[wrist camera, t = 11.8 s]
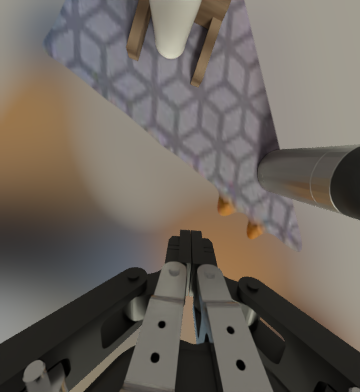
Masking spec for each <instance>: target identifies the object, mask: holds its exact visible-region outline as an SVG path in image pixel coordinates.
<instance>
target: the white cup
mask: <svg viewBox="0 0 360 392" xmlns="http://www.w3.org/2000/svg"><path fill="white" fill-rule="evenodd" d="M201 2H202V0H149V4H150V10H151V16H152V22H153V28H154V34H155V44H156V48H157V50H158V51H159V53H160V54H161V55H162V56H163V57H165V58H168V59H175V58H177V57H179V56H180V55H181V54H182V53H183V51H184V49H185V45H186V41H187V39H188V36H189V33H190V31H191V28H192V26H193V23H194V20H195V18H196V15H197V13H198V10H199V7H200V5H201Z"/></svg>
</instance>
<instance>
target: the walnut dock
mask: <svg viewBox="0 0 360 392" xmlns="http://www.w3.org/2000/svg"><path fill="white" fill-rule="evenodd" d="M230 2H231V0H202V2H201V5H200V7H199V10H198V13H197V15H196V18H195V20H194V22H195V23H197V24H199V25H201V26H203V27H205V28H207V29H208V32H207V35H206V38H205V41H204V44H203V47H202V50H201V53H200V56H199V59H198V62H197V65H196V68H195V71H194V74H193V77H192V81H191V85H194V86H196V87H199V85H200V83H201V82H202V79H203V76H204V73H205V70H206V67H207V64H208V61H209V58H210V56H211V53H212V50H213V47H214V44H215V41H216V38H217V35H218V32H219V29H220V26H221V23H222V20H223V18H224V16H225V14H226V12H227V10H228V8H229V5H230ZM150 17H151V10H150V4H149V0H139V1H138V5H137V9H136V12H135V16H134V20H133V24H132V27H131V31H130V35H129V39H128V42H127V46H126V48H127V52H128V55H129V57H130V58H132V59H134V60H137V61H138V59H139V56H140V52H141V49H142V45H143V42H144V38H145V34H146V31H147V27H148V24H149V20H150Z"/></svg>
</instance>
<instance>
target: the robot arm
mask: <svg viewBox="0 0 360 392" xmlns="http://www.w3.org/2000/svg"><path fill="white" fill-rule="evenodd" d="M257 174H258V181H259V183H260V185H261V186H262V187H263V188H264V189H265V190H267V191H269V192H272V193H275V194H278V195H281V196H284V197H287V198H291V199H294V200H297V201H300V202H304V203H307V204H310V205H313V206H317V207H320V208H323V209H326V210H330V211H333V212H336V213H340V214H343V215H346V216H349V217H352V218H355V219H358V220H360V145H346V146H330V147H316V148H299V149H282V150H275V151H272V152H270V153H268V154H267V155H266V156H265V157H264V158H263V159H262V161H261V162H260V164H259V167H258V172H257ZM188 291H189V296H193V318H194V327H195V335H196V344H191V343H188V342H186V341H183V340H180V334H181V325H182V316H183V307H184V305H185V297H186V296H188ZM260 317H261V318H262V319H263V320H265V321H266V322H267V323H268V324H269V325H270V326H271V327H273V328H274V329H275V330H276V331H277V332H278V333H279V334H281V336H282V337H283V338H284V340H285V342H284V341H283V340H282V339H281V338H280V337H279V336H277V335H276V334H275V333H274V332H273V331H272V330H271V329H270V328H269V327H267V326H266V325H265V324H264V323H263V322H262V321H261V320H260ZM141 325H142V327H141V330H140V333H139V337H138V339H137V343H136V345H135V346H133V347H131V348H129V349H128V350H126V351H125V352H123V353H122V354H121V355H120V356H118V357H117V358H116V359H115V360H114V361H113V362H112V363H111V364H110V365H109V366H108V367H107V368H106V369H105V370H104V372H102V373H101V374H100V376H99V377H97V378H96V380H95V381H94V382H93V383H92V384H91V385H90V386H89V387H88V388H87V389H86V390H85V391H84V392H360V352H359V351H357V350H356V349H354V348H353V347H351V346H350V345H349V344H347V343H346V342H345V341H343V340H342V339H340V338H339V337H338V336H336V335H335V334H333V333H332V332H330V331H329V330H328V329H326V328H325V327H323V326H322V325H321V324H319V323H318V322H317V321H315V320H314V319H312V318H311V317H310V316H308V315H307V314H305V313H304V312H302V311H301V310H300V309H298V308H297V307H296V306H294V305H293V304H291V303H290V302H288V301H287V300H286V299H284V298H283V297H281V296H280V295H279V294H277V293H276V292H274V291H273V290H272V289H270V288H269V287H267V286H266V285H265V284H263V283H262V282H260V281H259V280H257V279H255V278H252V277H242V278H241V279H240V280H239V282H237V281H234V280H231V279H228V278H226V277H225V276H223V274H222V271H221V270H220V269H219V268H218V267H217V263H216V258H215V254H214V249H213V245H212V242H211V241H210V240H209V239H206V238H202V233H201V231H193V230H191V234H190V230H180V236H172V237H171V238H170V239H169V242H168V248H167V254H166V260H165V264H164V266H163V267H162V269H161V270H160V271H158V272H155V273H151V274H147V273H146V271H145V270H143V269H142V268H138V267H134V268H129V269H126V270H125V271H123V272H121V273H120V274H118V275H116V276H115V277H113V278H111V279H110V280H108V281H106V282H104V283H103V284H101V285H99V286H97V287H96V288H94V289H93V290H91V291H89V292H87V293H86V294H84V295H82V296H81V297H79V298H77V299H75V300H74V301H72V302H70V303H69V304H67V305H65V306H64V307H62V308H60V309H59V310H57V311H55V312H53V313H52V314H50V315H48V316H47V317H45V318H43V319H42V320H40V321H38V322H36V323H35V324H33V325H31V326H30V327H28V328H27V329H25V330H23V331H21V332H20V333H18V334H16V335H14V336H13V337H11V338H9V339H8V340H6V341H4V342H3V343H1V344H0V392H69V391H70V390H71V389H72V388H73V387H75V385H77V384H78V383H79V382H80V381H81V380H82V379H83V378H84V377H85V376H87V374H89V373H90V372H91V371H92V370H93V369H94V368H95V367H96V366H97V365H99V364H100V363H101V362H102V361H103V360H104V359H105V358H106V357H107V356H108V355H109V354H110V353H112V352H113V351H114V350H115V349H116V348H117V347H118V346H119V345H120V344H121V343H123V342H124V341H125V340H126V339H127V338H128V337H129V336H130V335H131V334H132V333H133V332H135V331H136V330H137V329H138V328H139V327H140V326H141Z"/></svg>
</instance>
